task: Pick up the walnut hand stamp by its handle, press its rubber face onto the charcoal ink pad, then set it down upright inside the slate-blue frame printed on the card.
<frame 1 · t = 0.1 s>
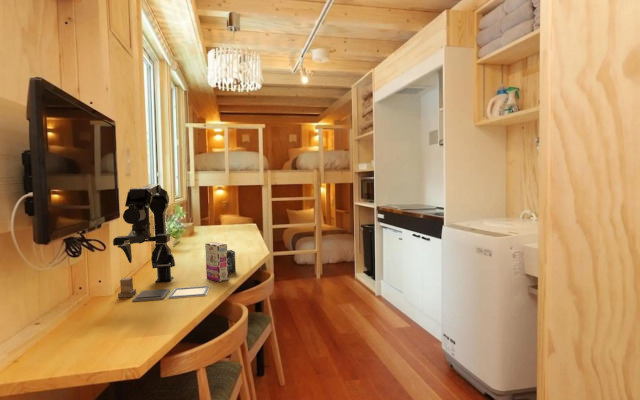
hand: (143, 262, 138), 15 cm above the counter, fingers open, 9 cm apart
stamp: (127, 296, 144), on the counter
ink pad: (152, 296, 143), on the counter
marked sheet: (189, 292, 147), on the counter
candy bar box: (217, 279, 166), on the counter
box: (226, 273, 177), on the counter
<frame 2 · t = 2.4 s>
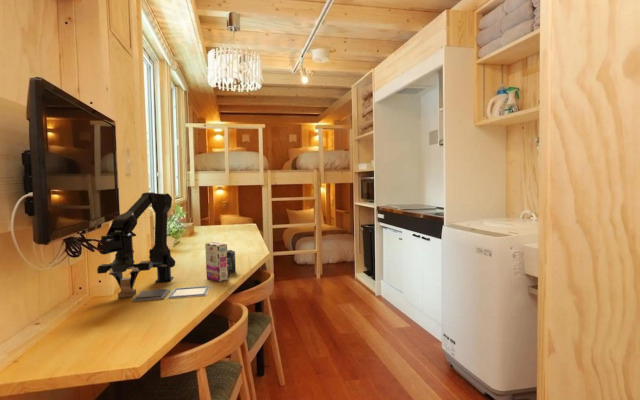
hand: (126, 288, 144), 3 cm above the counter, fingers closed on stamp, 3 cm apart
stamp: (127, 295, 144), on the counter, touching gripper
everything else where it was.
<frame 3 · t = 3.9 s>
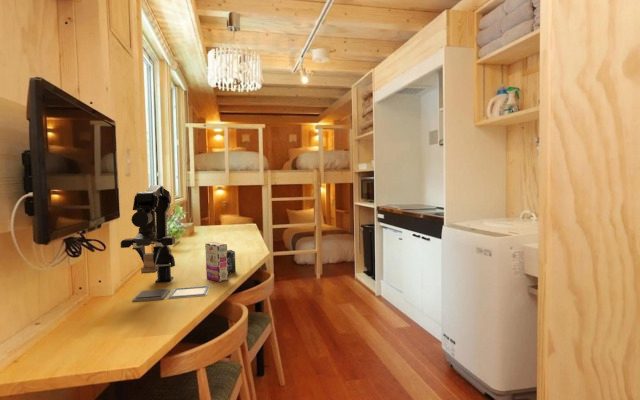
hand: (149, 263, 143), 13 cm above the counter, fingers closed on stamp, 3 cm apart
stamp: (150, 271, 143), point 10 cm above the counter, touching gripper
everything else where it was.
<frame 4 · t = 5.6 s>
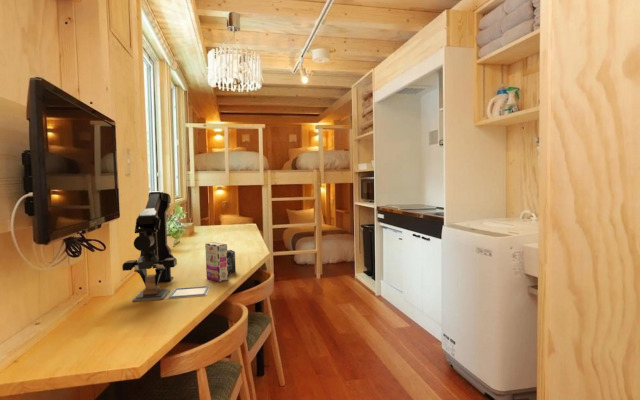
hand: (151, 285, 143), 4 cm above the counter, fingers closed on stamp, 3 cm apart
stamp: (151, 293, 143), point 1 cm above the counter, touching gripper, ink pad
everything else where it was.
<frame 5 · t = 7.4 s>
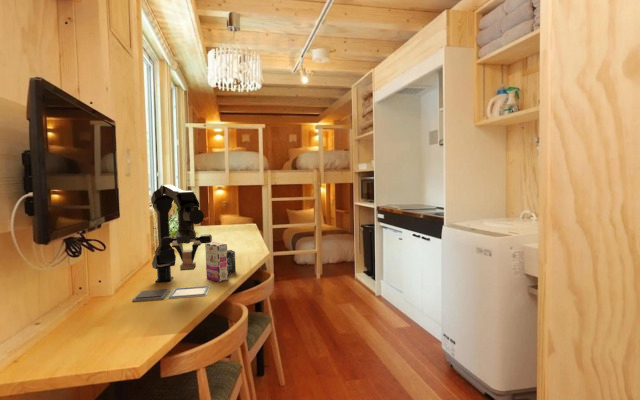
hand: (187, 261, 146), 13 cm above the counter, fingers closed on stamp, 3 cm apart
stamp: (188, 268, 146), point 10 cm above the counter, touching gripper
everything else where it was.
when the fingers open (4 cm above the counter, at t = 8.9 s): stamp stays where it is, resting on marked sheet.
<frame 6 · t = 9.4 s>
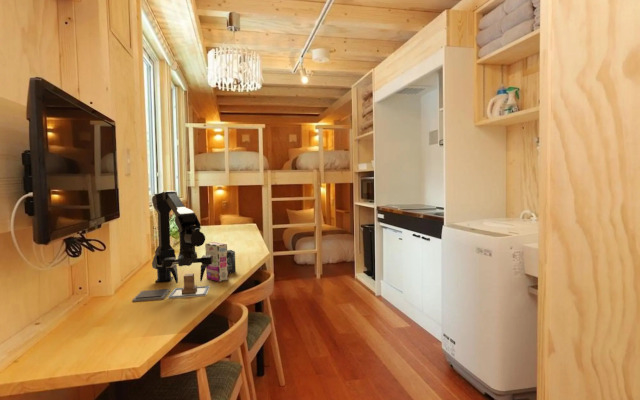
hand: (189, 282, 146), 4 cm above the counter, fingers open, 9 cm apart
stamp: (189, 292, 146), resting on marked sheet
everything else where it was.
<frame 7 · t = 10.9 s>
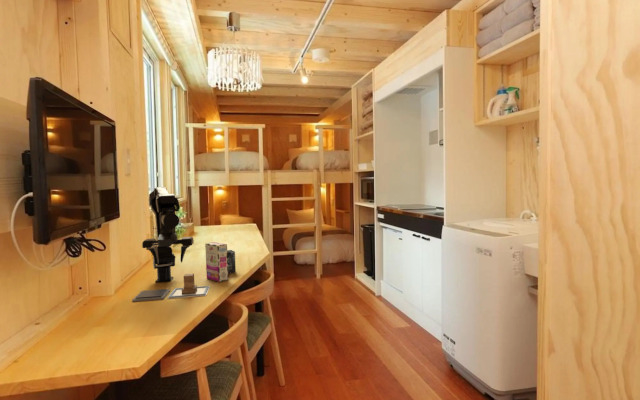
hand: (169, 263, 149), 12 cm above the counter, fingers open, 9 cm apart
nothing on the counter moved.
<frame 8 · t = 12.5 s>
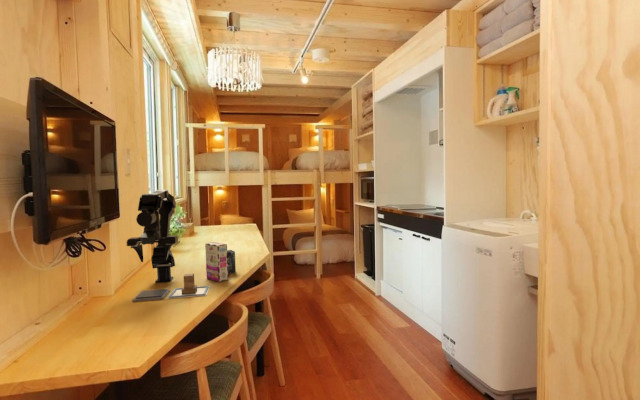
hand: (154, 261, 151), 12 cm above the counter, fingers open, 9 cm apart
nothing on the counter moved.
at the end: stamp inside the target area on the marked sheet (0.1 cm from its centre), point 0.2 cm above the marked sheet's base; stamp tilted 0°; the gripper is holding nothing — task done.
